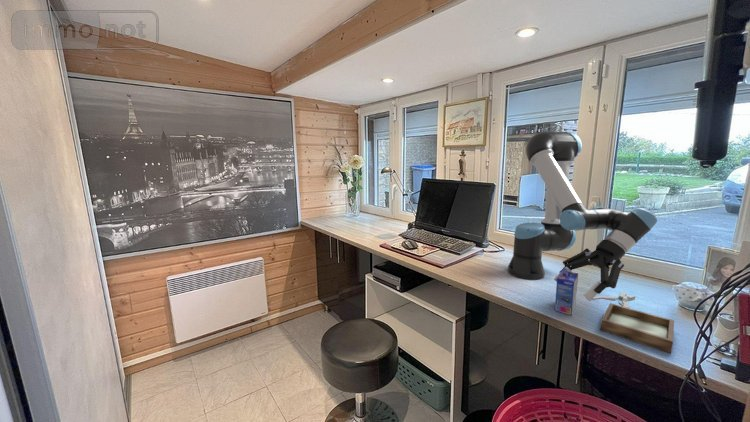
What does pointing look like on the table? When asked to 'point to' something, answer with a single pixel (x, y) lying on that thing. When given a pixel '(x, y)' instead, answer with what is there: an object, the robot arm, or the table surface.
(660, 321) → the wooden tray
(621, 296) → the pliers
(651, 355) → the table surface
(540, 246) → the robot arm
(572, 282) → the ink cartridge box
